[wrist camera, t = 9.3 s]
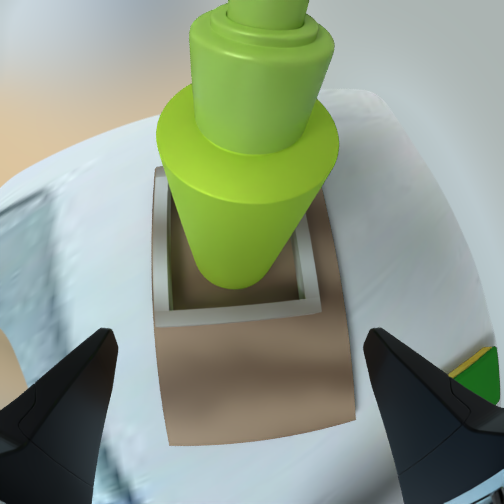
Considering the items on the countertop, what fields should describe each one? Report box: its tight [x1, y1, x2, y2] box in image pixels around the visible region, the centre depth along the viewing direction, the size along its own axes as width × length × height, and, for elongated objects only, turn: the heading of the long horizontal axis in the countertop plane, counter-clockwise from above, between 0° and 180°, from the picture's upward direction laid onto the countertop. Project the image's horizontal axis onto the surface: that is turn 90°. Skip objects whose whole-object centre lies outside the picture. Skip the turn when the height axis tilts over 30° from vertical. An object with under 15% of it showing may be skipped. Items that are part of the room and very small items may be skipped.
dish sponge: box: [447, 346, 500, 405], centre depth 18 cm, size 7×14×2 cm, turn 104°
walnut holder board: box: [152, 166, 356, 446], centre depth 19 cm, size 22×14×3 cm, turn 6°
